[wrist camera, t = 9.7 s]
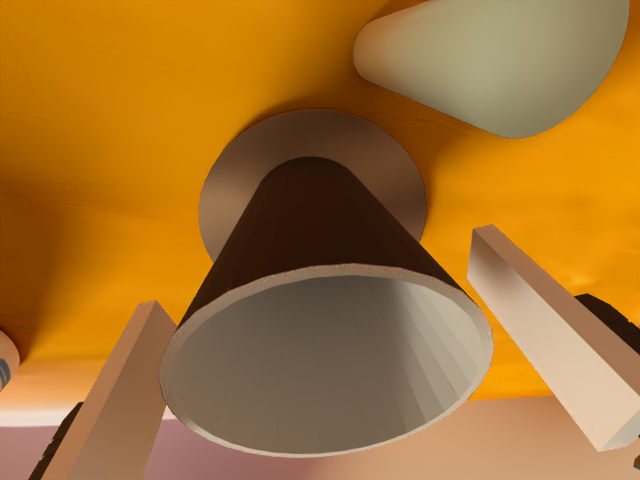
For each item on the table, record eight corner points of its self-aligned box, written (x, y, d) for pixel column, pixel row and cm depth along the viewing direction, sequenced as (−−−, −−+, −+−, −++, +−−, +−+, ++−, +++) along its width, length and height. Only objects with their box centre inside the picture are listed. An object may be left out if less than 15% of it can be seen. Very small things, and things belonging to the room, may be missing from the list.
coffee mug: (248, 106, 13) (170, 213, 4) (414, 163, 15) (570, 307, 7) (212, 292, 19) (149, 488, 10) (335, 313, 21) (366, 490, 12)
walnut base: (150, 171, 15) (143, 177, 14) (392, 59, 13) (398, 60, 12) (269, 322, 22) (268, 331, 21) (436, 263, 20) (441, 271, 19)
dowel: (345, 33, 12) (458, 2, 4) (399, 7, 12) (647, -88, 4) (361, 91, 14) (473, 159, 5) (410, 69, 13) (613, 103, 5)
